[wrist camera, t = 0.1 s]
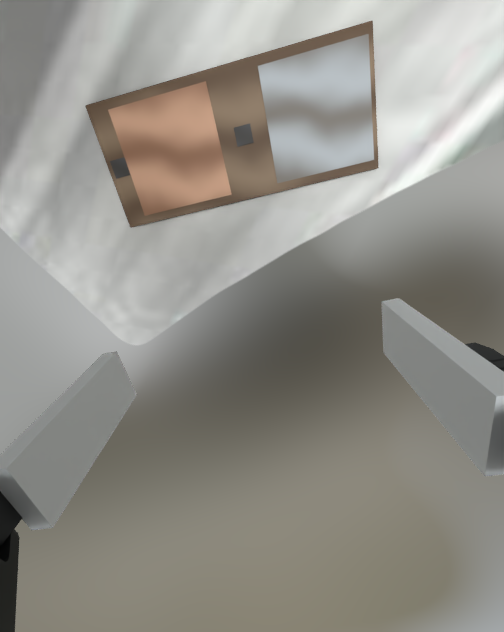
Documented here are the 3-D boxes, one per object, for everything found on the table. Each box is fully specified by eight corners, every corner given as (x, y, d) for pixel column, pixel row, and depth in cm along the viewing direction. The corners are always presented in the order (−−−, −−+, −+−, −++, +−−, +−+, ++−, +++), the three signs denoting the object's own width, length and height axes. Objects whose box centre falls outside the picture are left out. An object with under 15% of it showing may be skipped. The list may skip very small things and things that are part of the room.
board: (88, 107, 33) (84, 105, 32) (370, 23, 29) (372, 20, 29) (132, 227, 38) (130, 227, 37) (376, 168, 35) (378, 167, 34)
